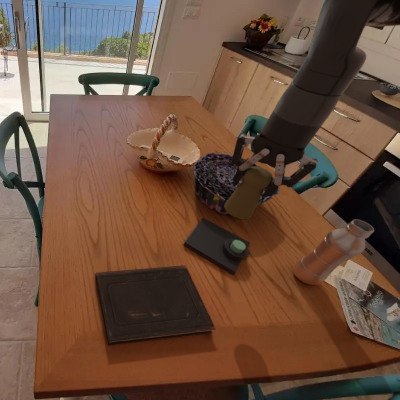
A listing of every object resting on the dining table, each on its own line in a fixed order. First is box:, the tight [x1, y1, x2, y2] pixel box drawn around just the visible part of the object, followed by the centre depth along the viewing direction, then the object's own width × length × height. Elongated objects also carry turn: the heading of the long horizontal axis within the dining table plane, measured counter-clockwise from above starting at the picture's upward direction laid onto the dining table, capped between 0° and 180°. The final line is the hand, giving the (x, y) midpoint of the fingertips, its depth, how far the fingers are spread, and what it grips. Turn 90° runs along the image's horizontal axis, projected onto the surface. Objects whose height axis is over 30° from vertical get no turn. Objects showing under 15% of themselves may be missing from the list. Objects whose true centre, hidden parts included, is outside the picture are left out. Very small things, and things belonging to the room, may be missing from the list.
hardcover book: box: [94, 265, 217, 346], centre depth 61 cm, size 16×23×2 cm
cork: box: [224, 166, 274, 220], centre depth 58 cm, size 6×6×11 cm
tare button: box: [230, 240, 246, 253], centre depth 71 cm, size 3×3×2 cm
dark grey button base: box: [182, 217, 251, 276], centre depth 75 cm, size 15×13×3 cm
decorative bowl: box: [193, 152, 281, 217], centre depth 89 cm, size 26×28×10 cm
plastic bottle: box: [292, 218, 375, 286], centre depth 63 cm, size 6×7×20 cm
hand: (250, 188), depth 57 cm, fingers closed on cork, 5 cm apart
